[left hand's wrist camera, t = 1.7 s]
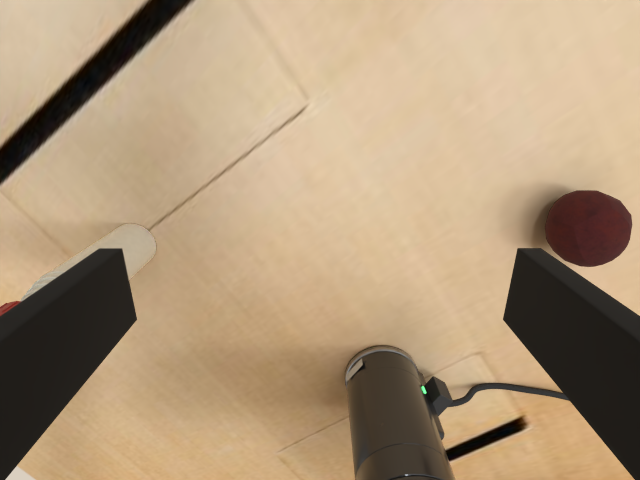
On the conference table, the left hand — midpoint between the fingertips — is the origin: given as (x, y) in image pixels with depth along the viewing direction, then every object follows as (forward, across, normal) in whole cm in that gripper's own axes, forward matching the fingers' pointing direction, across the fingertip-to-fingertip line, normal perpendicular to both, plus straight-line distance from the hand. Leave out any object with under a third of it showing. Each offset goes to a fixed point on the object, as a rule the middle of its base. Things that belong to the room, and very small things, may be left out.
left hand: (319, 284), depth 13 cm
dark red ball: (+28, +27, -6) cm, 39 cm away
